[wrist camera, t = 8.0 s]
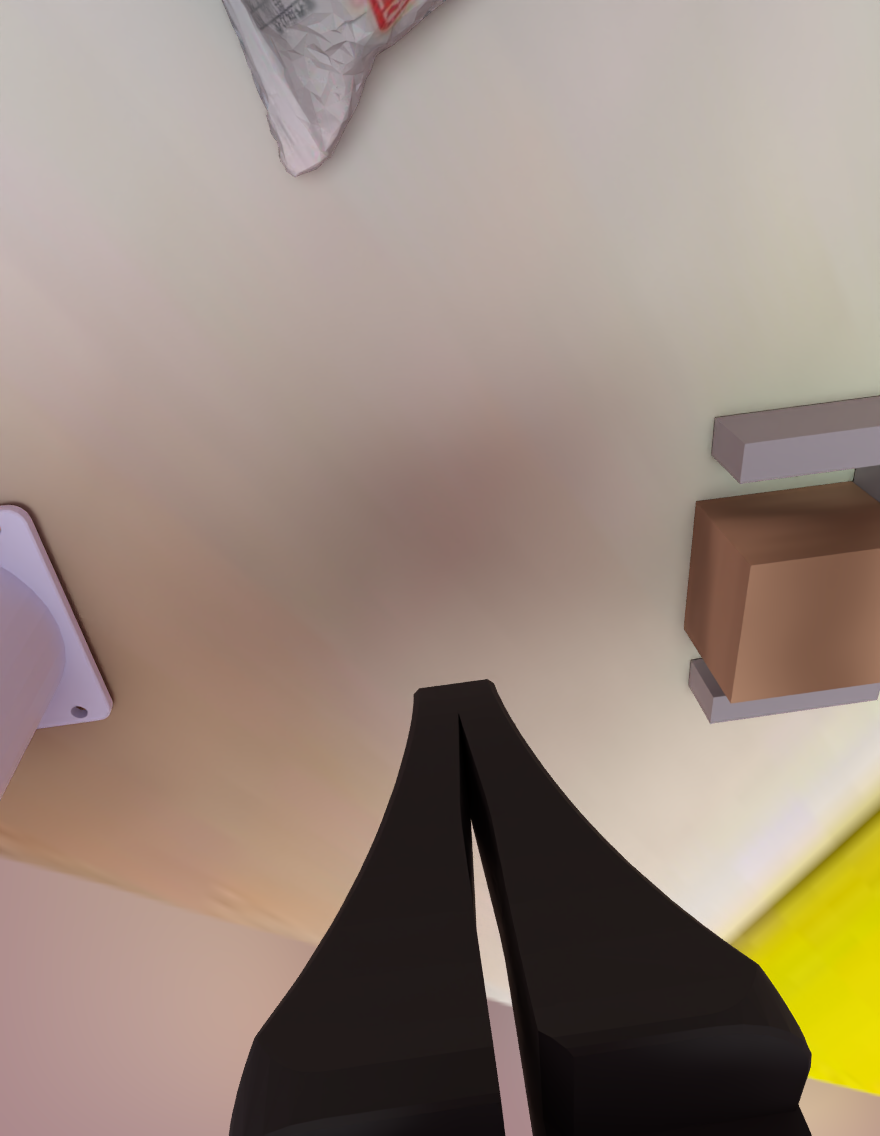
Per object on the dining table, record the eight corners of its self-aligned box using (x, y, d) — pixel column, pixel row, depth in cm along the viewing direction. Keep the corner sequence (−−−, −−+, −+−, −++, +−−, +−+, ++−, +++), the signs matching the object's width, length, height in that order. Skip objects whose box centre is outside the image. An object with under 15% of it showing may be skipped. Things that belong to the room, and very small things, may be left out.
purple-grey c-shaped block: (688, 685, 28) (710, 723, 26) (715, 417, 22) (745, 443, 21) (845, 663, 28) (876, 699, 26) (910, 391, 22) (956, 415, 21)
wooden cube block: (682, 626, 26) (730, 703, 23) (694, 499, 24) (751, 565, 20) (821, 607, 27) (889, 681, 23) (849, 479, 24) (930, 541, 21)
